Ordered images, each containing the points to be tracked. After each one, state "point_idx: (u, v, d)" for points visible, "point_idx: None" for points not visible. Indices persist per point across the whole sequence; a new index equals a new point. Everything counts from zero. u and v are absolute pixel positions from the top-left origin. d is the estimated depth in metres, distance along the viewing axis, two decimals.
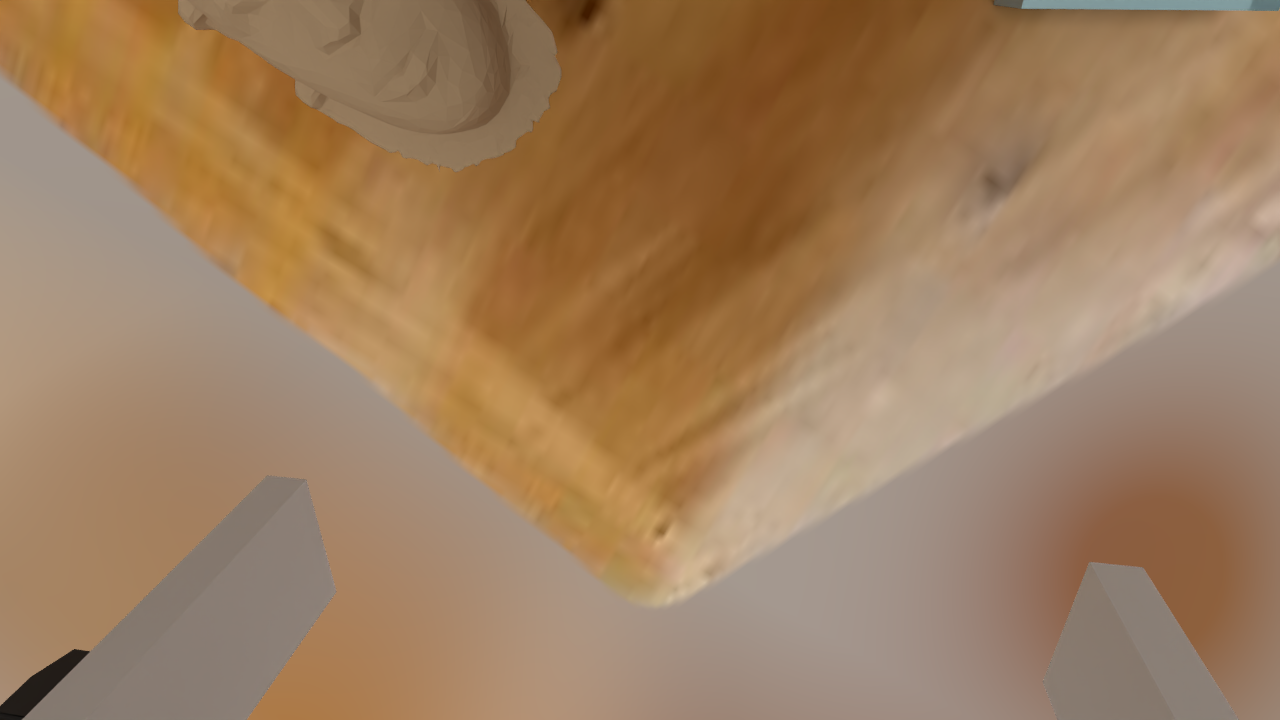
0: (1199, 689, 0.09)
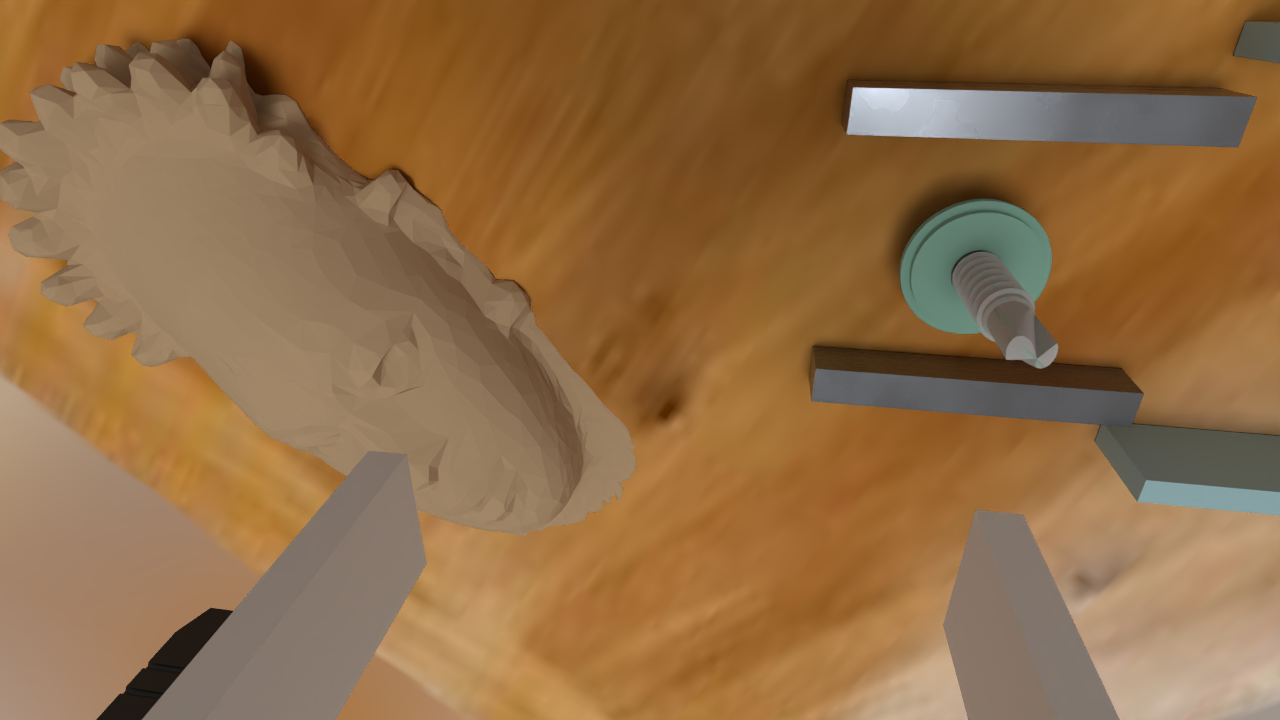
0: (1051, 613, 0.10)
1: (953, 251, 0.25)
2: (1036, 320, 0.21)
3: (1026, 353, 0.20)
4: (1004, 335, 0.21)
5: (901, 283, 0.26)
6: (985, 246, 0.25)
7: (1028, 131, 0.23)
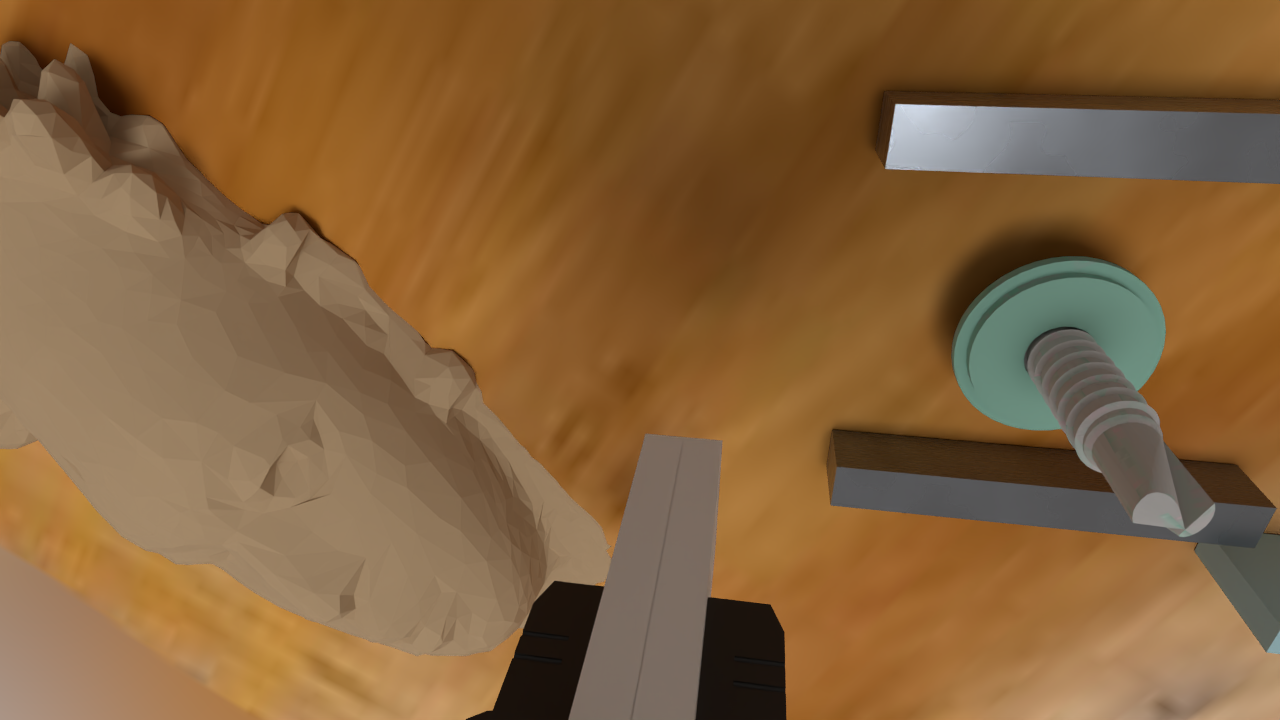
0: (699, 512, 0.12)
1: (1029, 327, 0.18)
2: (1170, 453, 0.14)
3: (1167, 519, 0.13)
4: (1128, 483, 0.14)
5: (954, 365, 0.20)
6: (1074, 321, 0.18)
7: (1144, 166, 0.17)
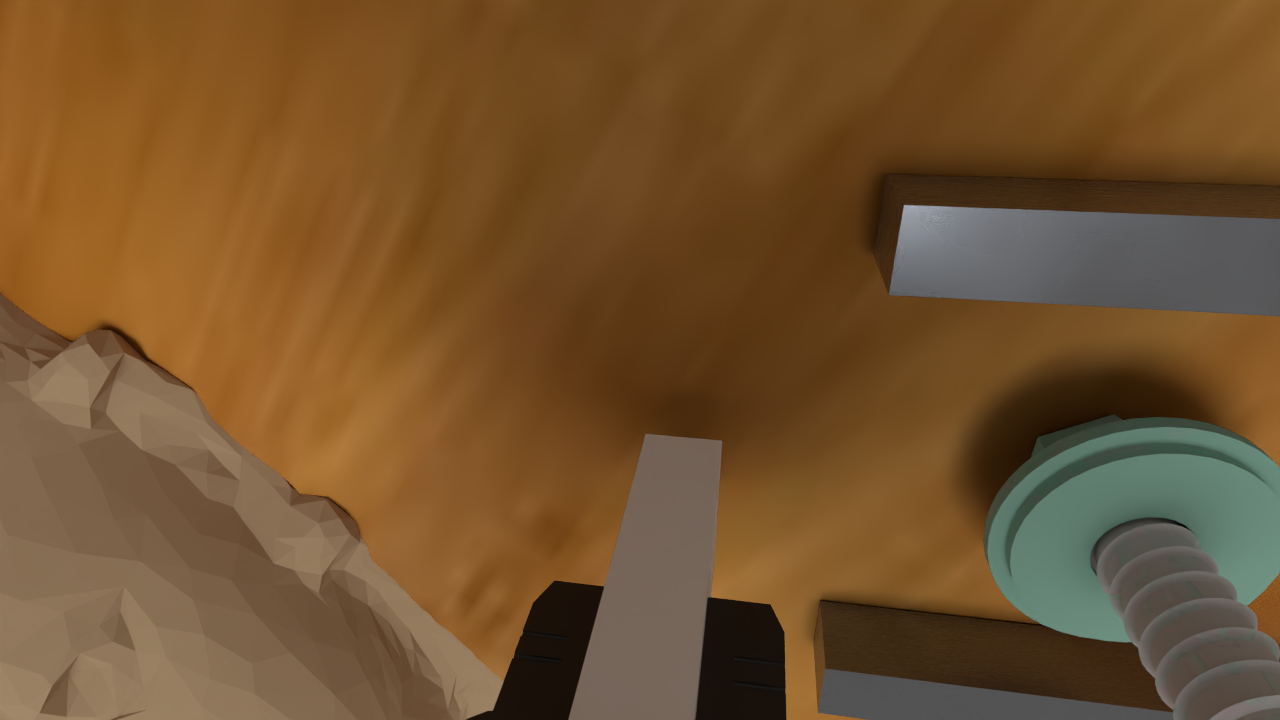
0: (699, 512, 0.12)
1: (1100, 516, 0.13)
2: None
3: None
4: None
5: (988, 554, 0.14)
6: (1167, 512, 0.12)
7: None
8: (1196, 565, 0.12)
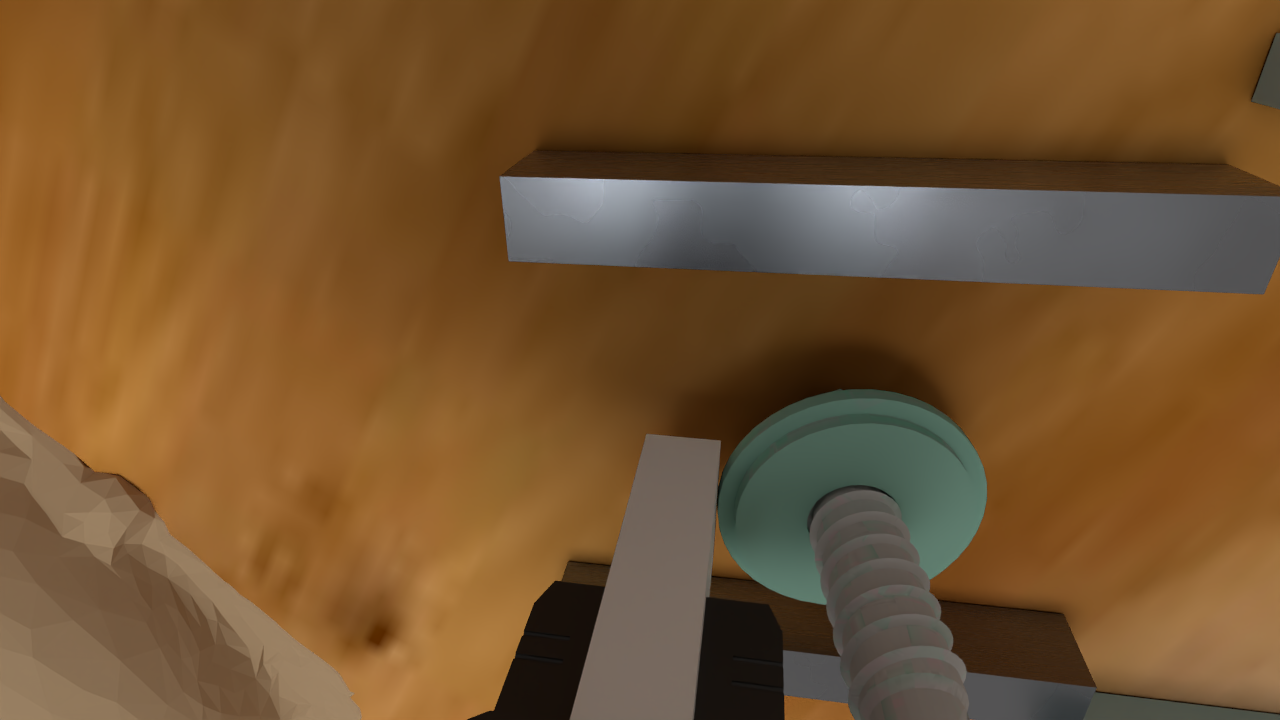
0: (697, 512, 0.12)
1: (808, 487, 0.13)
2: None
3: None
4: None
5: (722, 532, 0.14)
6: (866, 479, 0.13)
7: (841, 259, 0.12)
8: (881, 528, 0.12)
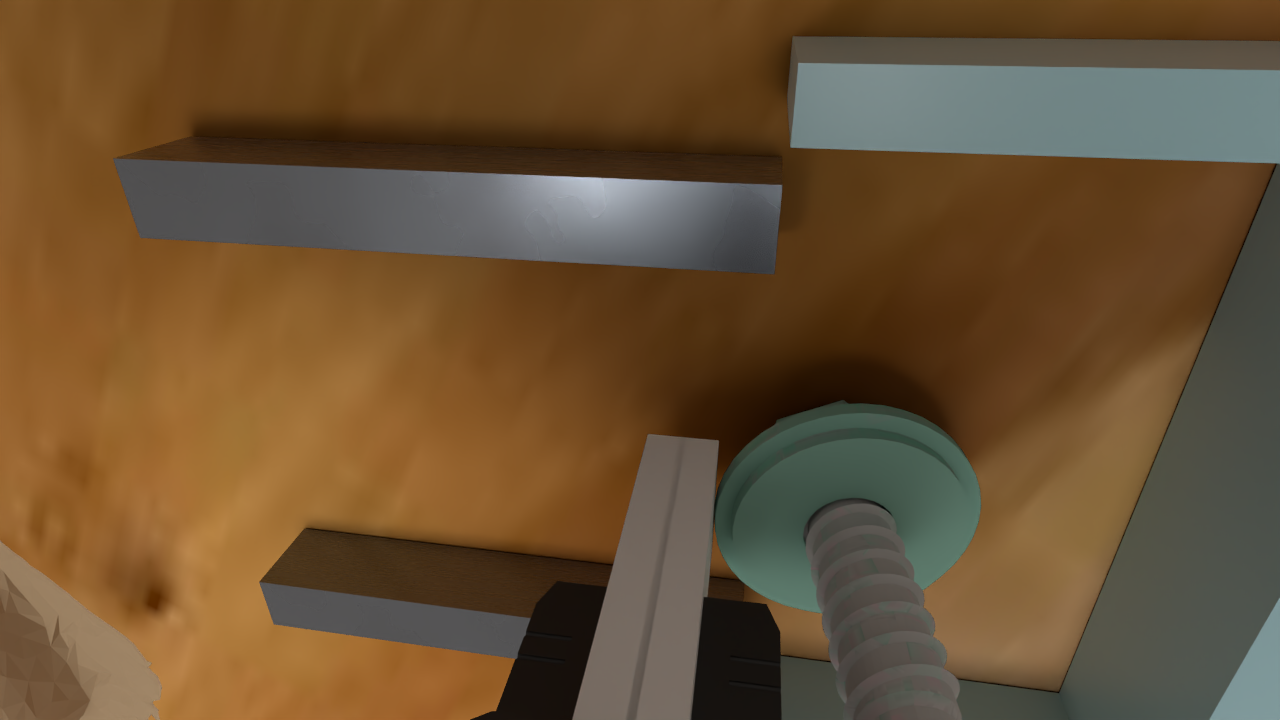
0: (695, 512, 0.12)
1: (809, 496, 0.13)
2: None
3: None
4: None
5: (717, 532, 0.14)
6: (867, 493, 0.13)
7: (418, 238, 0.13)
8: (880, 543, 0.12)
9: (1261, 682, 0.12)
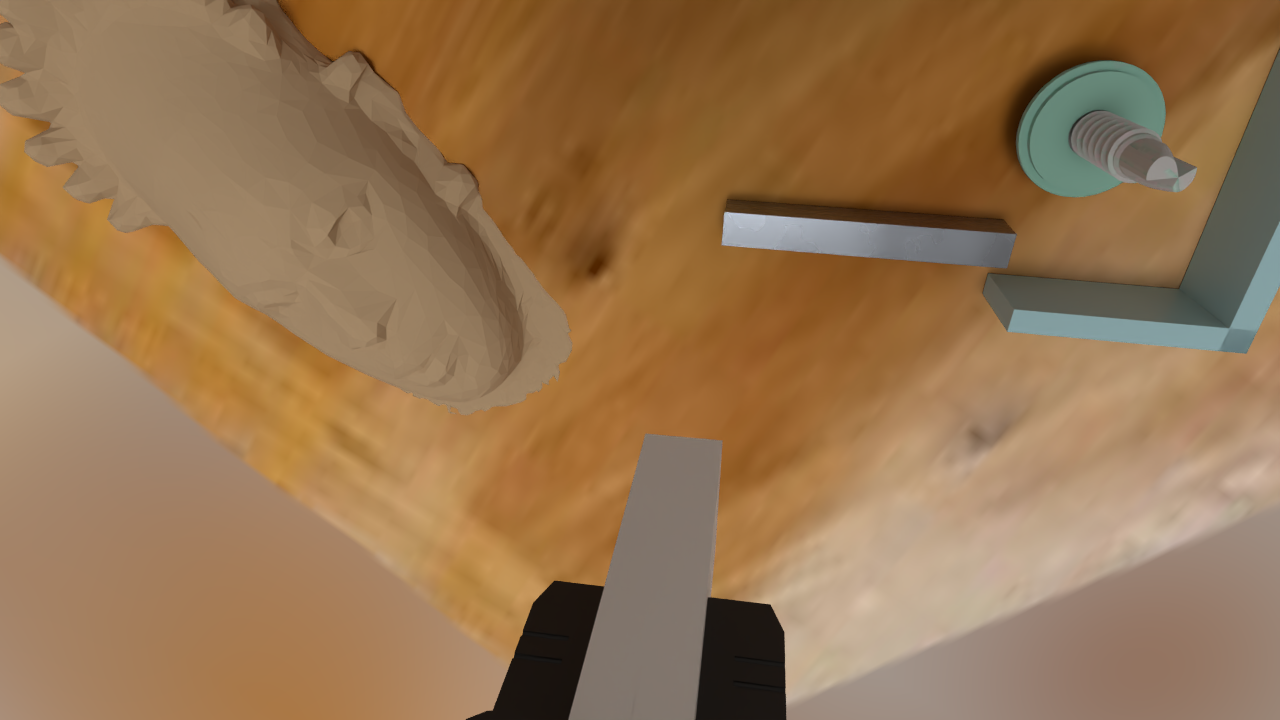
0: (699, 512, 0.12)
1: (1077, 108, 0.27)
2: None
3: (1169, 172, 0.22)
4: (1145, 159, 0.22)
5: (1019, 138, 0.28)
6: (1108, 106, 0.27)
7: None
8: (1117, 118, 0.26)
9: None
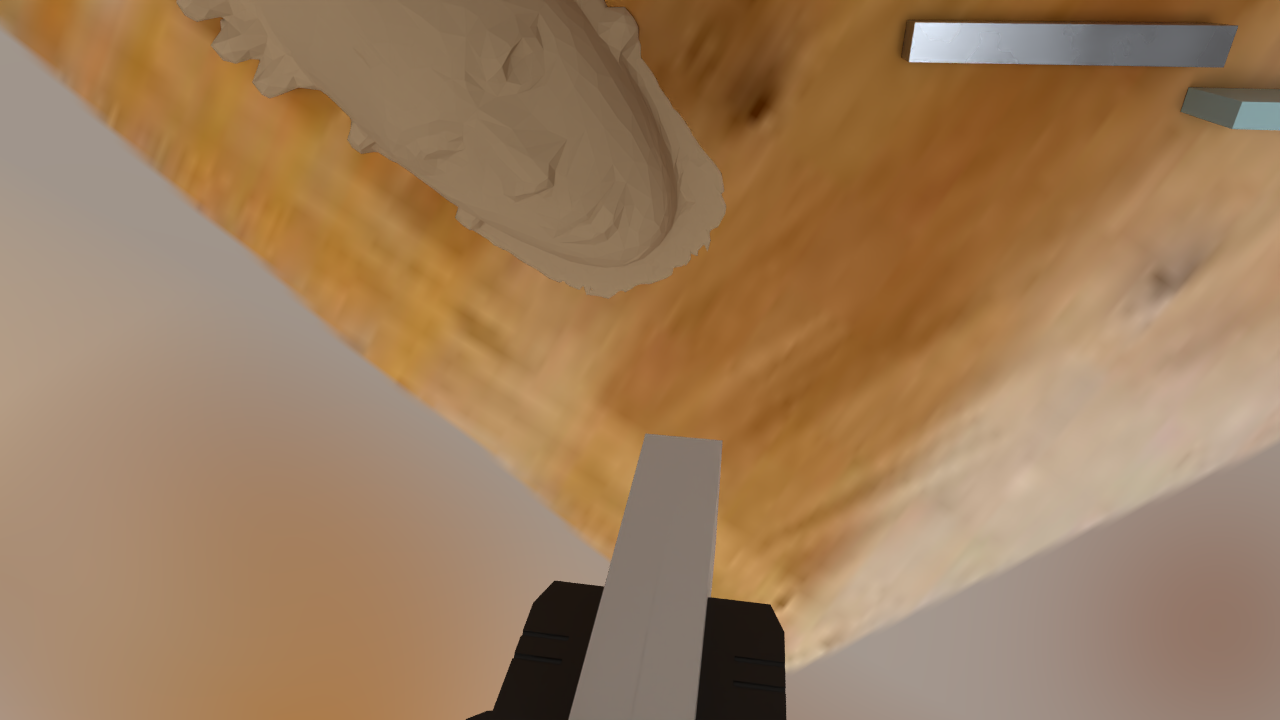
0: (699, 512, 0.12)
1: None
2: None
3: None
4: None
5: None
6: None
7: None
8: None
9: None
